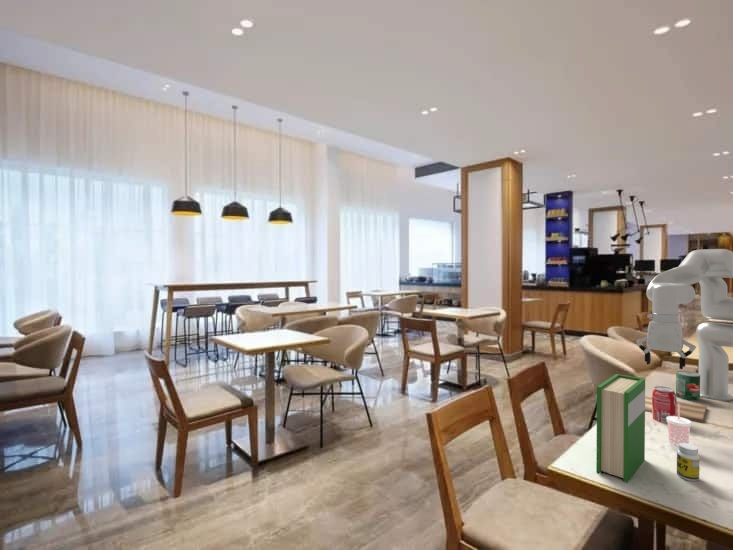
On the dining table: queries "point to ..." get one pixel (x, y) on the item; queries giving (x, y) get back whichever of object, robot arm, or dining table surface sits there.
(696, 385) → the canned tomato
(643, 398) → the hardback book
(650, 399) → the flat tan panel
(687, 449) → the supplement bottle
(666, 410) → the soda can
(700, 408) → the plank
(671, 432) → the beverage cup
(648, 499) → the dining table surface
